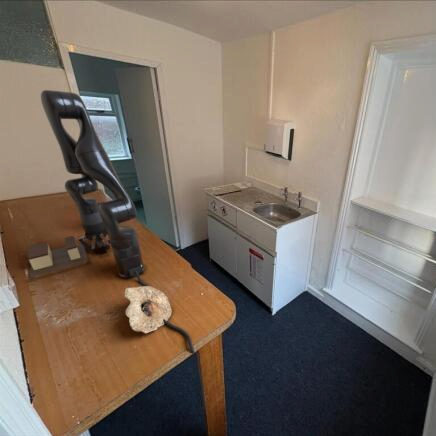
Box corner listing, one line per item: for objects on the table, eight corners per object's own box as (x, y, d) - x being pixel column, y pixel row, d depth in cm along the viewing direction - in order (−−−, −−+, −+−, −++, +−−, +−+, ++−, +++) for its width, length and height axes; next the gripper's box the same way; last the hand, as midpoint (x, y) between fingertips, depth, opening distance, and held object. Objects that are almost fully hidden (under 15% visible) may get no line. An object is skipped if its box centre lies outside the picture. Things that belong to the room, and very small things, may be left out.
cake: (52, 265, 99) (47, 253, 97) (33, 270, 96) (28, 258, 93) (51, 252, 107) (47, 241, 104) (34, 257, 103) (29, 245, 101)
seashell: (175, 330, 84) (181, 318, 81) (128, 349, 73) (133, 336, 69) (158, 290, 92) (163, 278, 89) (114, 302, 81) (118, 288, 78)
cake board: (89, 263, 104) (88, 261, 104) (31, 280, 93) (30, 277, 92) (84, 245, 117) (83, 242, 116) (32, 257, 105) (31, 254, 105)
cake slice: (80, 257, 105) (76, 246, 103) (71, 260, 103) (66, 248, 101) (77, 246, 113) (73, 235, 110) (68, 248, 111) (64, 237, 108)
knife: (107, 255, 111) (104, 244, 108) (101, 257, 109) (97, 245, 106) (100, 237, 124) (97, 227, 121) (95, 239, 122) (91, 228, 120)
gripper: (72, 228, 98) (84, 261, 105) (113, 220, 108) (121, 251, 115) (71, 221, 103) (82, 254, 110) (110, 214, 112) (118, 244, 119)
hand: (102, 252), depth 112 cm, fingers open, 4 cm apart
